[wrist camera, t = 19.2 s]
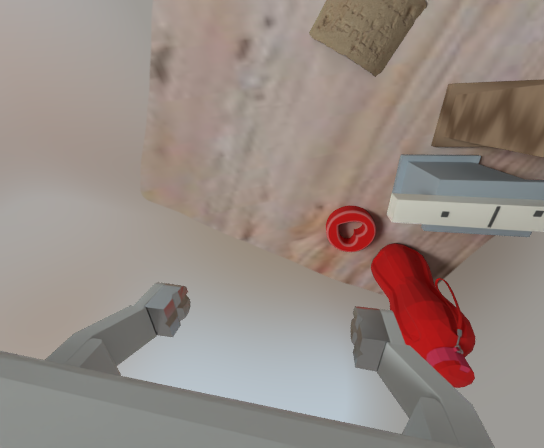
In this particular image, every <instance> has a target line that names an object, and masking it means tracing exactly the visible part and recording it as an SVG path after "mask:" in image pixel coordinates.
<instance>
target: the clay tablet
mask: <svg viewBox="0 0 544 448" xmlns="http://www.w3.org/2000/svg"><path fill="white" fill-rule="evenodd" d="M425 8H426V2H425V0H327V1H326V2H325V4H324V6H323V8H322V10H321V12H320V14H319V16H318V18H317V20H316V21H315V23H314V25H313V27H312V29H311V30H310V32H309V33H310V35H311V36H312V38H314V39H315V40H318V41H320V42H322V43H325V45H326V46H327V47H331V48H332V49H333V50H335V51H336V52H338V53H340V54H342V55H346V56H347V57H348V58H349V59H351V60H353V61H354V62H355V63H356V64H359V65H361V67H362V68H364V69H365V70H367V71H370V73H372V74H373V75H374V76H375V77H376V76H377V75H378V74H379V73H381V72H382V71H383V69H384V68H385V66H386V65H387V63H388V61H389V60H390V59H391V57H392V55H393V53H394V52H395V51H396V49H397V48H398V46H399V45H400V44H401V42H402V41H403V39H404V37H405V36H406V34H407V33H408V31H409V30H410V28H411V27H412V26H413V24H414V22H415V20H416V18H417V17H418V16H419V15H420V14H421V13H422V11H423V10H424V9H425Z"/></svg>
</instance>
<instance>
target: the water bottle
mask: <svg viewBox="0 0 544 448" xmlns="http://www.w3.org/2000/svg"><path fill="white" fill-rule="evenodd" d="M371 270H372V273H373V276H374V278H375V280H376V281H377V283H378V284H379V286H380V287H381V289H382V290H383V291H384V293H385V294H386V296H387V297H388V298H389V302H390V310H392V311H393V312H394V315H395V318H396V320H397V323H398V326H399V328H400V331H401V333H402V336H403V339H404V341H405V344H406V345H409V346H411V347H412V348H413V349H414V350H415V351H416V352H417V353H418V354H419V355H420V356H421V357H423V358H424V359H425V360H426V361H427V362H428V363H429V364H430V365H431V366H432V367H433V368H434V369H435V370H436V371H437V372H438V373H439V374H441V375H442V376H443V377H444V378H445V379H446V380H447V381H448V382H449V383H450V384H451V385H452V386H453V387H456V388H460V387H465V386H467V385H469V384H471V383H472V382H473V380H474V379H475V377H474V372H473V371H472V369H471V367H470V366H469V364H468V363H467V361H466V359H465V357H466V356H467V355H468V354H469V353H470V352H471V351H472V350H473V347H474V345H475V335H474V332H473V329H472V327H471V324H470V322H469V320H468V319H467V318H466V317H465V316H464V315H463V313H462V312H461V311H460V308H459V306H458V303H457V300H456V298H455V296H454V293H453V291H452V290H451V288H450V286H449V284H448V283H447V282H446V281H445V280H443V279H442V280H443V281H444V282H445V283H446V284H447V286H448V288H449V290H450V292H451V293H452V296H453V299H454V301H455V304H456V307H457V308H456V307H455V306H454V305H453V304H452V303H451V302H449V301H448V300H447V299H446V298H445V297H444V296H443V295H442V294H441V292H440V291H439V289H438V285H437V283H438V281H439V280H440V279H441V278H438V279H437V280H436V281H435V285H434V282H433V278H432V275H431V272H430V268H429V266H428V264H427V262H426V260H425V259H424V257H423V256H422V255H421V254H420V253H418V252H417V251H415V250H413V249H411V248H409V247H407V246H404V245H401V244H395V243H394V244H389V245H387V246H385V247H384V248H383V249H381V250H380V252H379V253H378V255H377V256H376V257H375V258H374V259H373V262H372V264H371ZM435 286H436V287H435Z"/></svg>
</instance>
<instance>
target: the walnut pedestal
mask: <svg viewBox="0 0 544 448" xmlns="http://www.w3.org/2000/svg"><path fill="white" fill-rule="evenodd" d="M431 146H434V147H495V148H500V149H505V150H510V151H514V152H519V153H524V154H529V155H534V156H539V157H544V80H525V81H502V82H478V83H455V84H448V88H447V91H446V95H445V98H444V102H443V105H442V109H441V112H440V116H439V120H438V123H437V127H436V130H435V134H434V137H433V141H432V145H431Z"/></svg>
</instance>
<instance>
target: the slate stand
mask: <svg viewBox="0 0 544 448" xmlns="http://www.w3.org/2000/svg"><path fill="white" fill-rule="evenodd" d="M480 158H481V156H479V155H401V156H400V161H399V165H398V169H397V174H396V178H395V183H394V187H393V191H392V193H398V194H421V195H443V196H465V197H487V198H509V199H532V200H544V180H525V179H522V178H519V177H516V176H513V175H510V174H507V173H504V172H501V171H498V170H495V169H492V168H488V167H485V166H482V165H479V164H478V163H479V161H480ZM421 228H422V229H423V230H424V231H435V232H451V233H468V234H485V235H504V236H519V237H520V236H521V237H530V235H531V233H532V231H518V230H502V229H487V228H472V227H457V226H441V225H426V224H422V226H421Z"/></svg>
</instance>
